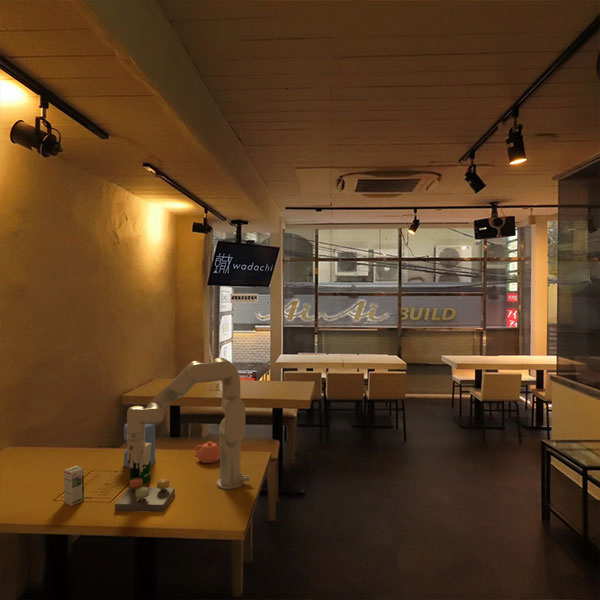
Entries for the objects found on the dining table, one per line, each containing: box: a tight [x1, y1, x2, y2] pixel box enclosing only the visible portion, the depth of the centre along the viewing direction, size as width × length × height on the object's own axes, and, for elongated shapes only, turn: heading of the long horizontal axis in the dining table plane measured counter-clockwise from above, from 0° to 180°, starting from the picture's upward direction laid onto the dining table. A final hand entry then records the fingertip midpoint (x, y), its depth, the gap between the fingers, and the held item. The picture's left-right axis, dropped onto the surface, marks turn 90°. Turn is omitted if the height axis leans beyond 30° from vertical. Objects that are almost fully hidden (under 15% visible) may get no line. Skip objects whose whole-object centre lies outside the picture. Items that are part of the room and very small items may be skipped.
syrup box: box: [63, 465, 85, 507], centre depth 190 cm, size 6×6×14 cm
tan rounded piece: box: [156, 477, 170, 492], centre depth 194 cm, size 5×5×5 cm
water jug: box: [123, 423, 156, 469], centre depth 232 cm, size 16×16×28 cm
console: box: [114, 486, 176, 513], centre depth 190 cm, size 20×16×3 cm
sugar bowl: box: [194, 441, 220, 464], centre depth 237 cm, size 12×14×10 cm
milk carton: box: [128, 442, 152, 487], centre depth 209 cm, size 9×9×20 cm
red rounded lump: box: [129, 478, 143, 492], centre depth 194 cm, size 5×5×5 cm
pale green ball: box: [136, 486, 149, 502], centre depth 185 cm, size 5×5×5 cm
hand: (135, 476), depth 194 cm, fingers closed
